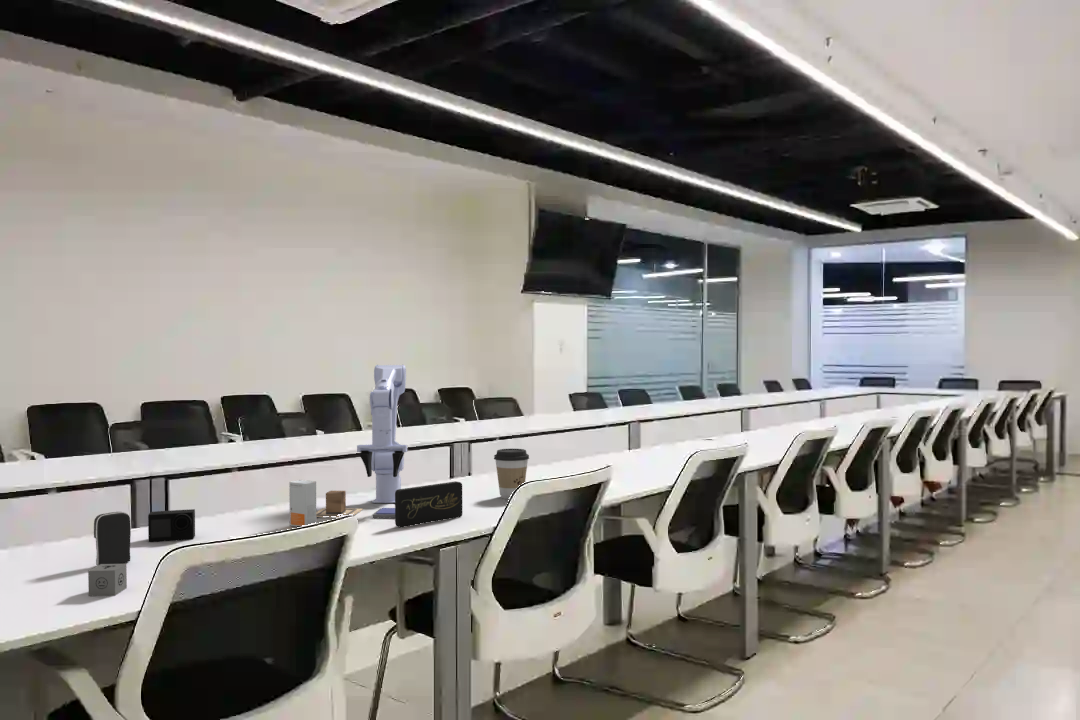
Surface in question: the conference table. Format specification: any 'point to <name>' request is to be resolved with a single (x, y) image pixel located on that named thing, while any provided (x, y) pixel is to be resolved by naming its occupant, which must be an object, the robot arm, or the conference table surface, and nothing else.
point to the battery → (112, 538)
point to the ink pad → (384, 513)
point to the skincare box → (302, 502)
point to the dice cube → (107, 579)
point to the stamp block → (335, 502)
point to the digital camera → (171, 525)
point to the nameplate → (428, 503)
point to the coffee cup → (510, 469)
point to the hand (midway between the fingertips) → (382, 476)
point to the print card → (348, 511)
